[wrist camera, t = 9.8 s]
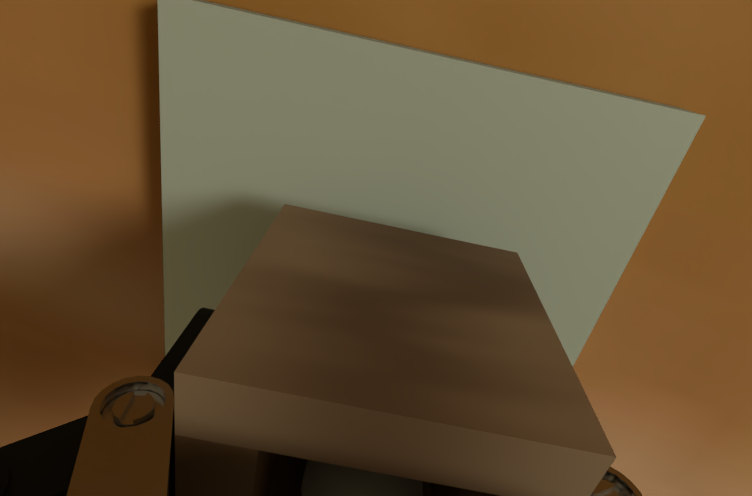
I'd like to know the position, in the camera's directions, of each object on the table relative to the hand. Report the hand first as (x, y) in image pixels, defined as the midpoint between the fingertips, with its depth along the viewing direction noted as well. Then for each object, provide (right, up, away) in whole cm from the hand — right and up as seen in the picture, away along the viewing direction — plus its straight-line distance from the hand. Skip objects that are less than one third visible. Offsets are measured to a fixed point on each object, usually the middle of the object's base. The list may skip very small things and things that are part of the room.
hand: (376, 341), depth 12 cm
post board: (0, +2, +3) cm, 4 cm away
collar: (0, 0, +1) cm, 1 cm away
